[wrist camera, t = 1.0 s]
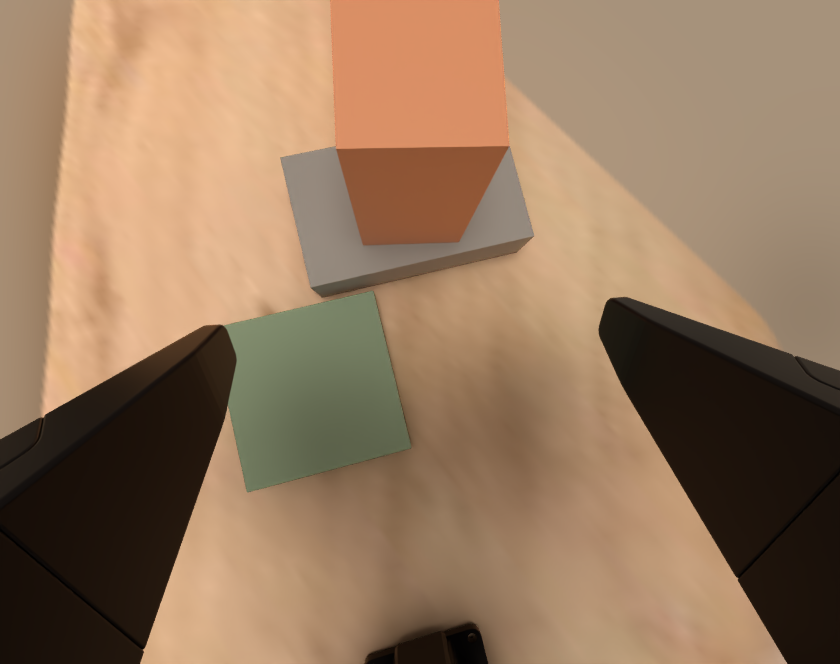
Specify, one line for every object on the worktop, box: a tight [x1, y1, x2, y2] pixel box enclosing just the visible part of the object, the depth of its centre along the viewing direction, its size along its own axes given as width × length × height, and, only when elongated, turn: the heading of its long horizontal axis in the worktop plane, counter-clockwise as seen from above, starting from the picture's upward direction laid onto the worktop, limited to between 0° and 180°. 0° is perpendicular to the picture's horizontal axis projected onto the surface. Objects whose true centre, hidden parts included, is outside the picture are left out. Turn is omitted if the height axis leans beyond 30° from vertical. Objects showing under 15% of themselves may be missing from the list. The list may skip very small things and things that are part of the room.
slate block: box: [280, 145, 534, 297], centre depth 22 cm, size 7×12×3 cm, turn 104°
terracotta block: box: [330, 0, 509, 245], centre depth 16 cm, size 5×5×9 cm
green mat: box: [224, 291, 411, 492], centre depth 22 cm, size 9×9×1 cm
